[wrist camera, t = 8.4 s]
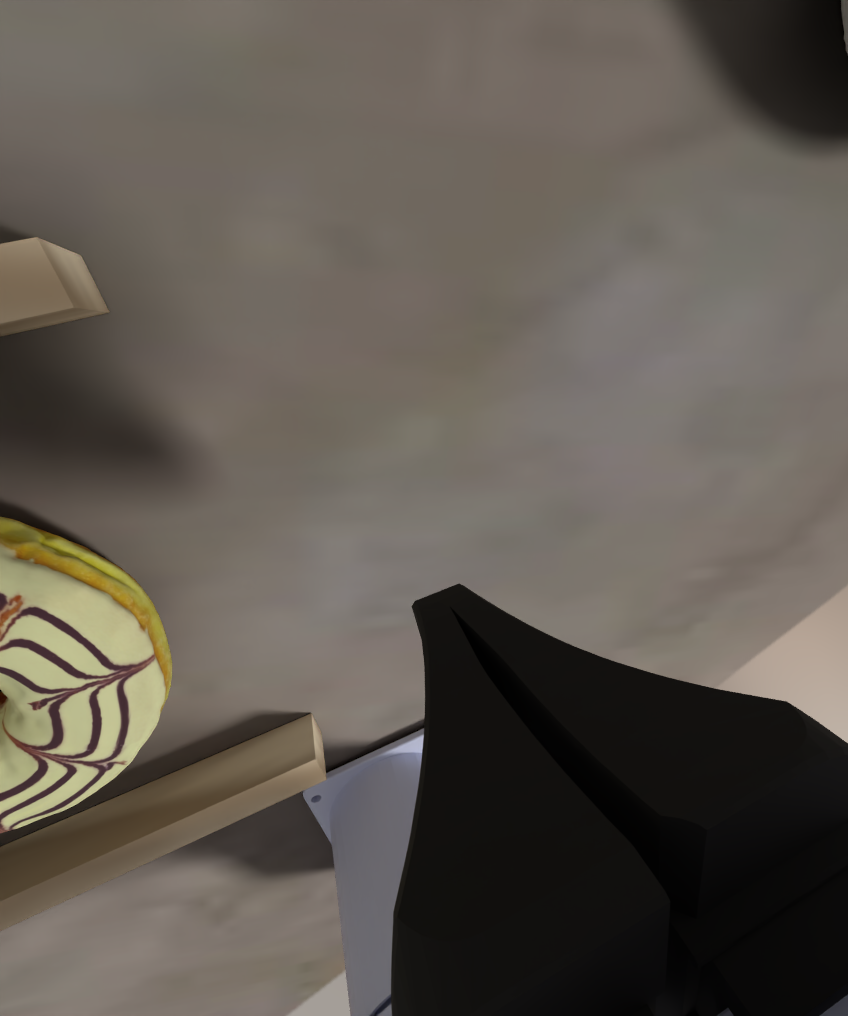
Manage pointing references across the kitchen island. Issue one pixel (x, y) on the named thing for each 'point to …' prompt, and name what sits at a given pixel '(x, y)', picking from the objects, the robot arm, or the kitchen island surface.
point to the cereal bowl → (845, 20)
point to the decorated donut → (71, 672)
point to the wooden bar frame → (175, 797)
